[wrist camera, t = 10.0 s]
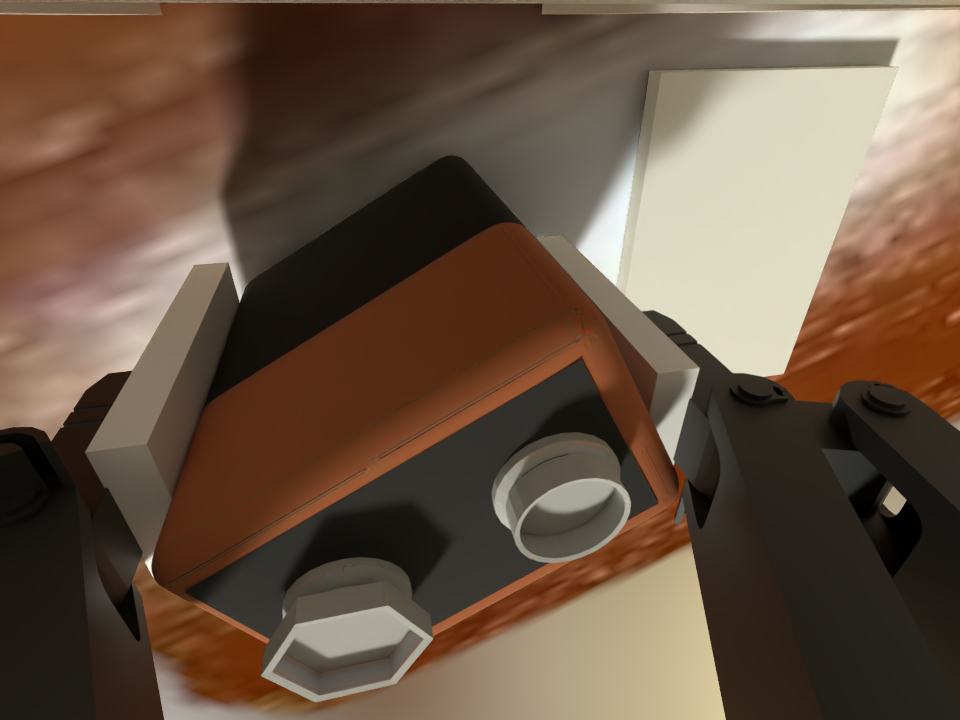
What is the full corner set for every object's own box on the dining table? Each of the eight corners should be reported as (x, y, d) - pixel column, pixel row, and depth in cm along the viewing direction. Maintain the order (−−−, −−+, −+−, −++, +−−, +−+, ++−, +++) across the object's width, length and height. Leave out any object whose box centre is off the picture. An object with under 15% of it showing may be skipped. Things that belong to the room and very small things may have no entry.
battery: (236, 284, 14) (93, 658, 6) (454, 142, 13) (641, 340, 5) (339, 390, 16) (339, 759, 8) (527, 275, 16) (732, 552, 8)
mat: (649, 70, 13) (661, 72, 13) (880, 65, 15) (899, 67, 14) (601, 389, 19) (608, 399, 18) (772, 364, 20) (783, 373, 20)
